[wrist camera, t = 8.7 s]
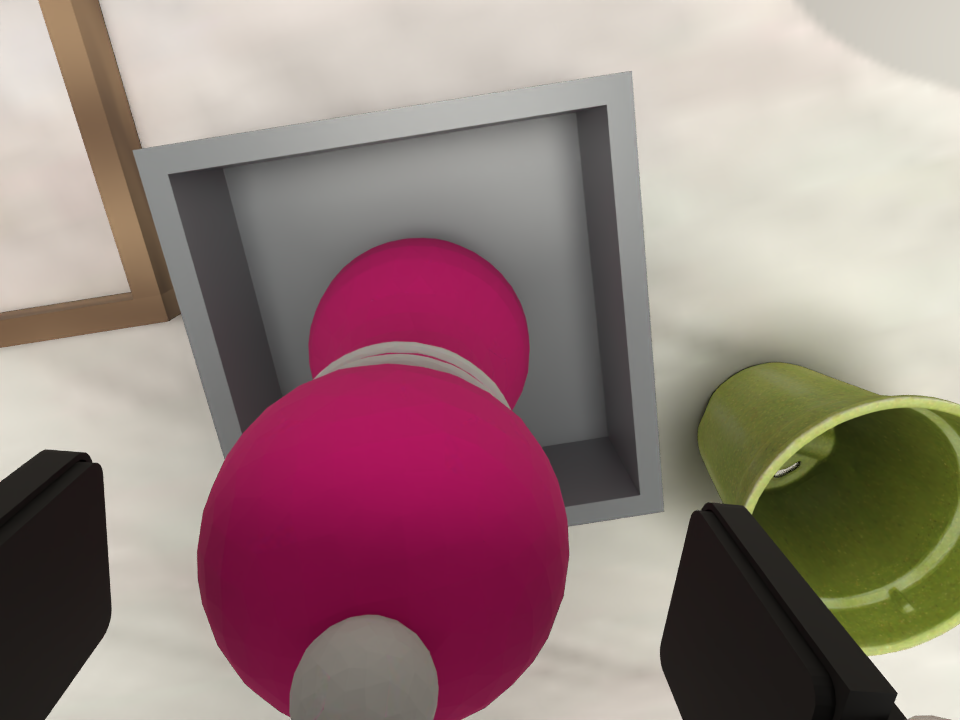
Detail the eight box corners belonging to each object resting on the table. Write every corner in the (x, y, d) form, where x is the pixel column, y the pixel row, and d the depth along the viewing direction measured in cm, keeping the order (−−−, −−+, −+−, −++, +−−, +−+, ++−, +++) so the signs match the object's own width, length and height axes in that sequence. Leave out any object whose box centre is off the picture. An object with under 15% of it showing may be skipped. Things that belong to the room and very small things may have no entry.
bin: (623, 442, 29) (664, 511, 24) (294, 493, 29) (258, 574, 24) (591, 87, 25) (631, 70, 19) (202, 149, 25) (132, 150, 19)
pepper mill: (522, 396, 27) (677, 953, 8) (345, 409, 27) (98, 1005, 8) (512, 217, 25) (695, 423, 6) (321, 231, 25) (-89, 482, 6)
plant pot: (711, 554, 31) (805, 701, 23) (620, 394, 29) (689, 495, 20) (897, 458, 30) (1067, 575, 22) (820, 281, 27) (980, 340, 19)
